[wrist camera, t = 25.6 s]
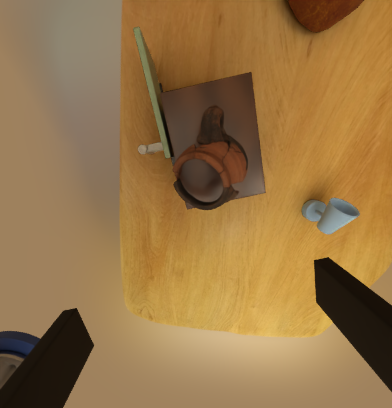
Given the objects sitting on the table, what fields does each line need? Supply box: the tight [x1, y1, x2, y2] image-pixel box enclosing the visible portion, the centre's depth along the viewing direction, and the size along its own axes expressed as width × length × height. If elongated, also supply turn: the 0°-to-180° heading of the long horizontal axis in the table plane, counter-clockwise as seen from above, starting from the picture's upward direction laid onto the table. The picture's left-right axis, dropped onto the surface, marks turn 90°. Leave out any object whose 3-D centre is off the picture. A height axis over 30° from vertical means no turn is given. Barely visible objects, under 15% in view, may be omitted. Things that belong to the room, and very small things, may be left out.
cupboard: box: [159, 72, 265, 209], centre depth 31 cm, size 14×21×12 cm, turn 12°
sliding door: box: [133, 27, 174, 158], centre depth 30 cm, size 5×16×10 cm, turn 12°
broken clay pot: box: [173, 105, 248, 210], centre depth 24 cm, size 12×10×8 cm
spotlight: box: [302, 198, 360, 234], centre depth 37 cm, size 5×10×7 cm
